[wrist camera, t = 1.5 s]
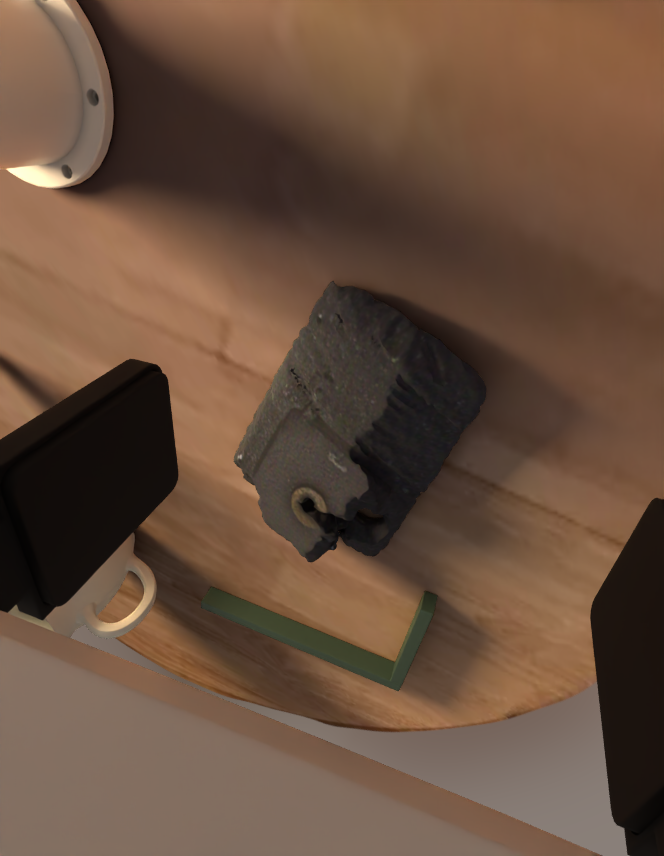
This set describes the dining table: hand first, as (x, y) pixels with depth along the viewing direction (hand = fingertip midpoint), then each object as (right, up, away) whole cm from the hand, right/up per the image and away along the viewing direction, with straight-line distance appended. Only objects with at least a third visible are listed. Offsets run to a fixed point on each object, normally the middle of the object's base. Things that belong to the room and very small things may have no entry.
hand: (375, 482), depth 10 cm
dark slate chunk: (+1, +1, +30) cm, 30 cm away
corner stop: (-2, -16, +42) cm, 45 cm away
